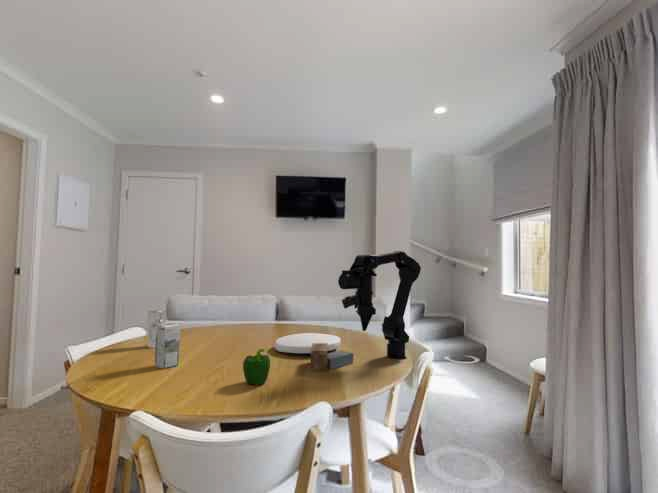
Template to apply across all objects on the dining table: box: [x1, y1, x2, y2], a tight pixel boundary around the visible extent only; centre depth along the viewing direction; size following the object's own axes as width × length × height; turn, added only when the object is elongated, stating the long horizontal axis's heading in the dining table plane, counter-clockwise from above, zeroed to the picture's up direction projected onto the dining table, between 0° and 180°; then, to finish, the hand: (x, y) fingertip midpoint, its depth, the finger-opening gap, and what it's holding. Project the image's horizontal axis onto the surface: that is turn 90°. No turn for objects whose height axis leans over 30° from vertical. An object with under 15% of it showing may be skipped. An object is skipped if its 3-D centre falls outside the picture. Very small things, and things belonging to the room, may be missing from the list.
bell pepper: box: [242, 348, 271, 386], centre depth 107 cm, size 8×8×10 cm
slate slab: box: [327, 349, 354, 371], centre depth 127 cm, size 12×6×4 cm, turn 135°
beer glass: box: [146, 309, 166, 349], centre depth 151 cm, size 7×7×15 cm
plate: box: [274, 332, 342, 354], centre depth 149 cm, size 28×6×27 cm
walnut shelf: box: [310, 343, 328, 372], centre depth 125 cm, size 6×11×7 cm, turn 0°
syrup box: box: [154, 322, 181, 370], centre depth 123 cm, size 6×6×14 cm
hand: (364, 330), depth 129 cm, fingers closed
